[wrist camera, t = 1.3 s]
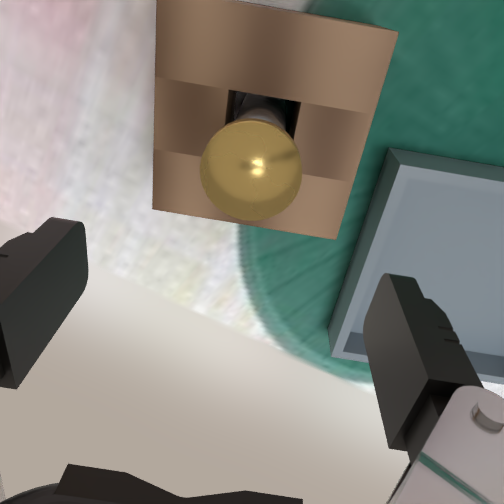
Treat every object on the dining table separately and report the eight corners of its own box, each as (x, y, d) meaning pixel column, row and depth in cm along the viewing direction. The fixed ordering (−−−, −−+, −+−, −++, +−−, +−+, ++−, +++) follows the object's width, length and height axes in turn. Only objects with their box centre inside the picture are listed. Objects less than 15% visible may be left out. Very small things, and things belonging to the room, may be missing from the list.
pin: (302, 79, 27) (312, 133, 16) (289, 144, 29) (290, 228, 19) (236, 68, 27) (204, 114, 16) (228, 134, 29) (196, 211, 19)
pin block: (376, 25, 25) (399, 31, 20) (327, 200, 31) (336, 239, 26) (183, -9, 25) (156, -11, 20) (174, 175, 31) (152, 209, 26)
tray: (628, 188, 29) (667, 210, 26) (509, 358, 39) (528, 388, 36) (388, 147, 29) (400, 164, 26) (327, 328, 38) (331, 356, 35)
